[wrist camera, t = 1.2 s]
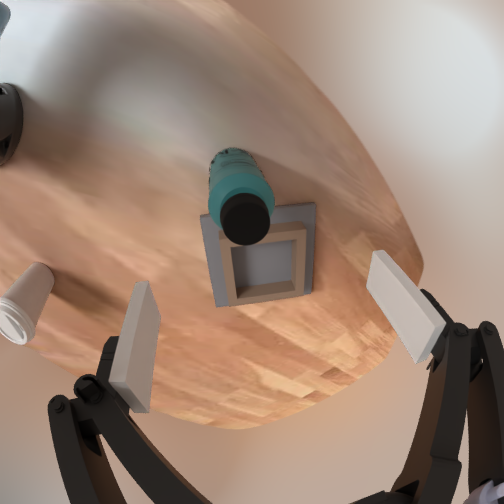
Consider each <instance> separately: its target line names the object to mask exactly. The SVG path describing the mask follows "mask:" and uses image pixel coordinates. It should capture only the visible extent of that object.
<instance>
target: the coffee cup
mask: <svg viewBox="0 0 504 504" xmlns="http://www.w3.org/2000/svg"><path fill="white" fill-rule="evenodd" d="M53 285H54V276H53V274H52V272H51V271H50V269H49V268H48V267H47V266H46V265H44V264H42V263H39V262H35V263H32V264H31V265H30V266H29V267H28V268H27V269H26V270H25V272H24V273H23V274H22V275H21V276H20V277H19V278H18V279H17V280H16V281H15V282H14V283H13V284H12V286H11V287H10V288H9V289H8V290H7V291H6V292H5V293H4V295H3V296H2V297H1V298H0V332H1V333H2V335H3V336H5V337H6V338H7V339H9V340H10V341H12V342H14V343H16V344H20V345H23V344H25V343H26V342H29V341H30V340H32V339H33V338H34V336H35V327H36V325H37V322H38V319H39V317H40V315H41V312H42V310H43V307H44V305H45V303H46V301H47V298H48V296H49V294H50V292H51V290H52V288H53Z"/></svg>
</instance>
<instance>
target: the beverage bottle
mask: <svg viewBox="0 0 504 504" xmlns="http://www.w3.org/2000/svg"><path fill="white" fill-rule="evenodd" d="M243 150H244V149H243ZM243 150H241V149H239V148H238V149H237V148H235V147H231V148H230V149H229V148H228V149H226V150H224V149H223V151H221V152H218V153H219V154H217V155H216V157H215V158H214V159H213V160H212V161H211V164H210V165H211V169H210V168H209V172H210V177H209V182H208V183H209V200H208V208H209V213H210V216H211V218H212V220H213V221H214V223H215V224H216V225H217V226H218V227H219V228H221V229H222V230H223V231H224V234H225V235H226V237H227V238H228V239H229V240H230V241H231V242H233V243H235V244H237V245H242V246H248V245H253V244H256V243H258V242H259V241H261V240H262V239H263V238H264V237H265V236H266V235H267V233H268V231H269V228H270V218H271V216H272V213H273V211H274V206H275V199H274V194H273V192H272V189H271V188H270V186H269V185H268V183H267V182H266V181H265V179H264V176H263V175H262V171H261V170H259V168H258V167H257V163H256V164H255V162H256V161H255V162H254V160H253V159H252V158H253V157H252V156H250V155H249V154H248V153H247V151H245V150H244V151H243Z"/></svg>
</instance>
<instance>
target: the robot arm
mask: <svg viewBox="0 0 504 504" xmlns="http://www.w3.org/2000/svg"><path fill="white" fill-rule="evenodd" d="M10 16H11V12H10V9H9V7H8V6H7V5H5V4H4V3H2V2H0V37H1V35H2V33H3V31H4V29H5V27H6V25H7V23H8V21H9V19H10ZM22 125H23V110H22V104H21V100H20V97H19V95H18V93H17V91H16V90H15V89H14V88H13V87H12V86H11V85H9V84H6V83H0V165H2V164H4V163H5V162H6V161H7V160H8V159H9V158H10V157H11V156H12V154H13V153H14V151H15V149H16V147H17V145H18V143H19V140H20V136H21V132H22ZM366 288H367V289H368V291H369V292H370V294H371V295H372V297H373V298H374V299H375V301H376V302H377V304H378V305H379V307H380V308H381V310H382V311H383V313H384V314H385V316H386V317H387V319H388V320H389V322H390V323H391V325H392V327H393V328H394V330H395V331H396V333H397V334H398V336H399V337H400V339H401V341H402V342H403V344H404V345H405V347H406V349H407V350H408V352H409V354H410V355H411V357H412V359H413V360H414V362H415V363H416V364H417V363H419V362H422V361H424V360H426V359H427V358H428V356H429V354H430V353H432V354H433V356H434V357H433V359H432V360H431V362H430V363H429V365H428V367H427V370H428V369H429V368H430V373H429V378H428V384H427V389H426V393H425V398H424V402H423V407H422V411H421V414H420V418H419V422H418V426H417V429H416V432H415V436H414V439H413V442H412V445H411V448H410V451H409V454H408V458H407V460H406V463H405V465H404V468H403V471H402V473H401V474H400V475H399V477H398V478H397V479H396V481H395V483H394V485H393V487H392V489H391V491H390V492H385V491H381V492H379V493H376V494H373V495H371V496H368V497H366V498H363V499H360V500H358V501H355V502H353V503H350V504H451V501H452V499H453V496H454V493H455V490H456V486H457V483H458V479H459V476H460V472H461V468H462V464H461V462H460V461H459V460H458V454H459V450H460V445H461V440H462V435H463V430H464V423H465V417H466V410H467V416H468V434H469V469H468V485H469V494H470V495H469V497H468V499H466V500H465V502H464V503H463V504H504V349H503V345H502V342H501V339H500V336H499V333H498V330H497V328H496V326H495V325H494V324H492V323H491V322H488V321H483V322H482V323H481V324H480V325H479V328H478V329H477V328H476V329H468V328H467V327H466V326H465V325H464V324H462V323H454V322H453V320H452V319H451V318H450V317H449V315H448V314H447V313H446V312H445V310H444V309H443V308H442V307H441V306H440V304H439V303H438V302H437V301H436V299H435V298H434V297H433V296H432V295H431V294H430V293H429V292H427V291H426V290H424V289H420V290H419V289H418V287H417V286H416V285H415V284H414V283H413V282H412V281H411V279H410V278H409V277H408V276H407V275H406V274H405V273H404V271H403V270H402V269H401V268H400V267H399V266H398V265H397V264H396V263H395V262H394V260H393V259H392V258H391V257H390V256H389V255H388V254H387V253H386V252H385V251H384V250H377V251H373V254H372V260H371V265H370V270H369V275H368V280H367V285H366ZM160 320H161V315H160V312H159V310H158V307H157V304H156V302H155V299H154V296H153V293H152V290H151V287H150V284H149V281H142V282H136V283H135V286H134V289H133V292H132V296H131V299H130V302H129V305H128V309H127V312H126V315H125V319H124V322H123V326H122V329H121V333H120V336H110V338H109V339H108V340H107V342H106V343H105V344H104V348H103V351H102V355H101V358H100V360H101V361H100V362H99V366H98V369H97V373H96V376H95V375H92V374H85V375H83V376H81V377H80V378H79V379H78V380H77V381H76V383H75V384H74V393H75V395H76V396H77V397H78V398H75V399H71V400H69V399H68V398H67V397H65V396H64V395H56V396H54V397H53V398H52V399H51V400H50V401H49V404H48V416H49V422H50V428H51V433H52V439H53V443H54V448H55V452H56V457H57V461H58V464H59V468H60V472H61V476H62V479H63V482H64V485H65V489H66V491H67V495H68V497H69V500H70V503H71V504H127V503H126V501H125V499H124V497H123V494H122V492H121V490H120V488H119V486H118V484H117V481H116V479H115V477H114V474H113V472H112V470H111V467H110V464H109V462H108V459H107V456H106V454H105V451H104V448H103V445H102V442H101V439H100V436H99V434H102V435H103V437H104V438H105V440H106V441H107V443H108V444H109V446H110V447H111V449H112V450H113V452H114V453H115V455H116V456H117V457H118V459H119V460H120V462H121V463H122V464H123V466H124V467H125V468H126V470H127V471H128V472H129V474H130V475H131V476H132V477H133V479H134V480H135V481H136V482H137V484H138V485H139V486H140V487H141V488H142V489H143V491H144V492H145V493H146V494H147V496H148V497H149V498H150V499H151V500H152V501H153V502H154V503H155V504H212V503H211V502H210V501H209V500H207V499H206V498H205V497H204V496H203V495H202V494H201V493H199V491H197V490H196V489H195V488H194V487H193V486H192V485H191V484H190V483H189V482H188V481H187V480H186V479H185V478H184V477H183V476H182V475H181V474H180V473H179V472H178V471H177V470H176V469H175V468H174V467H173V466H172V465H171V464H170V463H169V462H168V461H167V460H166V459H165V458H164V456H163V455H162V454H161V453H160V452H159V451H158V450H157V448H156V447H155V446H154V445H153V444H152V443H151V441H150V440H149V439H148V438H147V437H146V436H145V434H144V433H143V432H142V431H141V429H140V428H139V427H138V426H137V424H136V423H135V422H134V420H133V419H132V418H131V416H130V415H129V408H131V409H132V411H133V412H134V413H149V409H150V398H151V388H152V379H153V370H154V362H155V354H156V347H157V340H158V333H159V326H160ZM482 359H483V363H482ZM430 366H431V367H430Z"/></svg>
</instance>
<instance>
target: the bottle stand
mask: <svg viewBox="0 0 504 504" xmlns="http://www.w3.org/2000/svg"><path fill="white" fill-rule="evenodd" d="M315 221H316V204H315V203H314V202H313V203H302V204H292V205H282V206H274V211H273V213H272V216H271V218H270V228H269V231H268V233H267V235H266V236H265V237H264V238H263V239H262V240H261V241H259V242H258V243H256V244H253V245H248V246H242V245H237V244H235V243H233V242H231V241H230V240H229V239H228V238H227V237H226V235H225V234H224V231H223V230H222V229H221V228H219V227H218V226H217V225H216V224H215V223H214V221H213V220H212V218H211V216H210V214H205V215H200V222H201V228H202V234H203V240H204V245H205V251H206V257H207V262H208V268H209V273H210V278H211V284H212V289H213V294H214V299H215V304H216V307H223V306H229V307H230V306H238V305H245V304H253V303H260V302H266V301H273V300H280V299H286V298H292V297H299V296H303V295H306V294H311V288H312V275H313V260H314V243H315Z"/></svg>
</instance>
